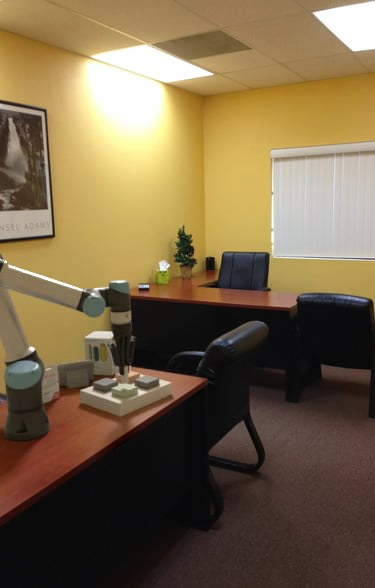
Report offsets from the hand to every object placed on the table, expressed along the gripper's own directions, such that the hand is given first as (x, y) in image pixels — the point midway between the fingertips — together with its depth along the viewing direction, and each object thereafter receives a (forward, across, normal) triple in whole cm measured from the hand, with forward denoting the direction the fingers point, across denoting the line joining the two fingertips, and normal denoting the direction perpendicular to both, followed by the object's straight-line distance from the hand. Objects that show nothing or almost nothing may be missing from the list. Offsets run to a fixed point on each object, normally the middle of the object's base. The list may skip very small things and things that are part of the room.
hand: (124, 382), depth 197 cm
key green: (+7, 0, 0) cm, 7 cm away
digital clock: (+10, +4, +36) cm, 37 cm away
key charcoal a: (+7, 0, +11) cm, 13 cm away
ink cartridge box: (+9, -14, +31) cm, 35 cm away
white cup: (+10, +22, +26) cm, 35 cm away
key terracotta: (+7, +12, +11) cm, 18 cm away
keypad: (+10, +6, +6) cm, 12 cm away
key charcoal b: (+7, +12, 0) cm, 14 cm away
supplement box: (+10, +24, +41) cm, 48 cm away
